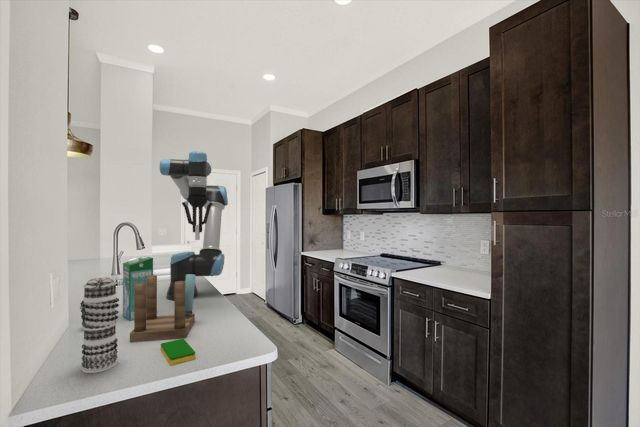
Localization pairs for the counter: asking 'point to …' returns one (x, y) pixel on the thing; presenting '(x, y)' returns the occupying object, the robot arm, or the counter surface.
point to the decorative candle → (99, 325)
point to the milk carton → (134, 281)
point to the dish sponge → (177, 351)
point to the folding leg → (189, 291)
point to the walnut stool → (159, 326)
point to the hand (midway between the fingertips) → (197, 239)
